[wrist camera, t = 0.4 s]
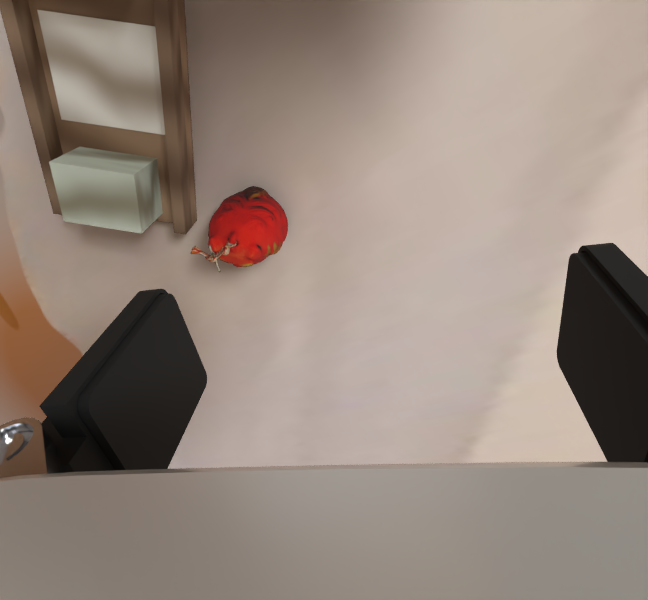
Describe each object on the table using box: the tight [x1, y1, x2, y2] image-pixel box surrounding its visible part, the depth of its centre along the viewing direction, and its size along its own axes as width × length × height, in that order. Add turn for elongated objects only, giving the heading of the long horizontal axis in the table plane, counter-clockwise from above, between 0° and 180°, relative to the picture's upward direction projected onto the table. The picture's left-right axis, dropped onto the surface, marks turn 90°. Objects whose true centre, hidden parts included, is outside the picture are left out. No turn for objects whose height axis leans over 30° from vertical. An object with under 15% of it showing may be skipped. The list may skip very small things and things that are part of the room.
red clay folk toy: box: [191, 186, 288, 272], centre depth 42 cm, size 8×7×15 cm
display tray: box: [0, 0, 197, 234], centre depth 39 cm, size 28×14×6 cm, turn 173°
